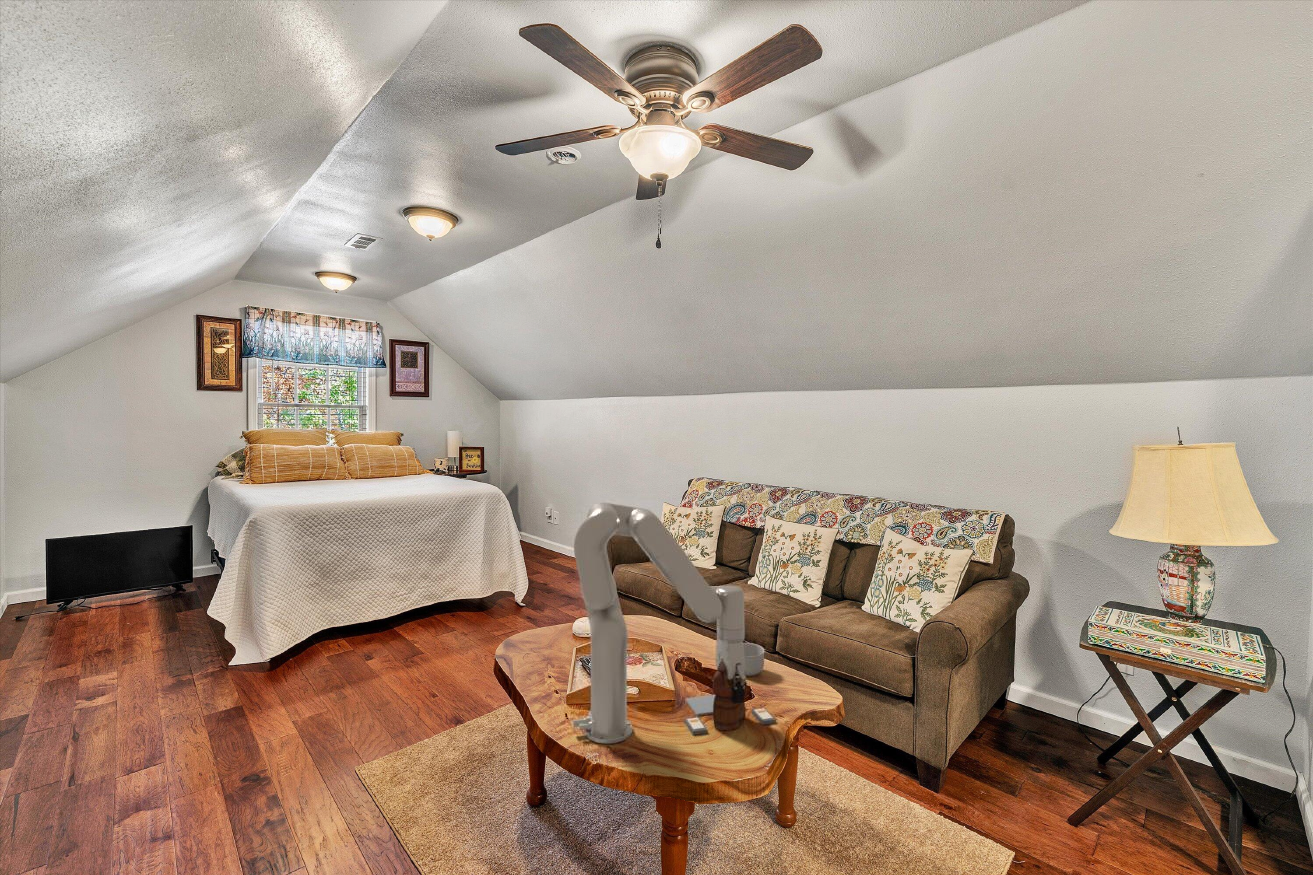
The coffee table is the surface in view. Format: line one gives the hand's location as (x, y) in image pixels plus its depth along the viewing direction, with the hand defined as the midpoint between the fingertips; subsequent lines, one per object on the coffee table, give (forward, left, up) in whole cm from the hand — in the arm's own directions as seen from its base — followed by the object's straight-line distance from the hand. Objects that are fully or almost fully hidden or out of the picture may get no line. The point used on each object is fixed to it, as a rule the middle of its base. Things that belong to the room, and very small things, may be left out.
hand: (731, 694), depth 159 cm
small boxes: (0, 0, -7) cm, 7 cm away
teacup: (+18, +31, -8) cm, 36 cm away
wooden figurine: (0, 0, -8) cm, 8 cm away
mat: (0, +11, -7) cm, 13 cm away
